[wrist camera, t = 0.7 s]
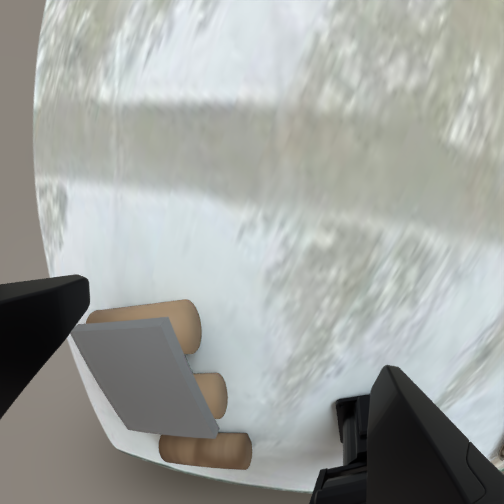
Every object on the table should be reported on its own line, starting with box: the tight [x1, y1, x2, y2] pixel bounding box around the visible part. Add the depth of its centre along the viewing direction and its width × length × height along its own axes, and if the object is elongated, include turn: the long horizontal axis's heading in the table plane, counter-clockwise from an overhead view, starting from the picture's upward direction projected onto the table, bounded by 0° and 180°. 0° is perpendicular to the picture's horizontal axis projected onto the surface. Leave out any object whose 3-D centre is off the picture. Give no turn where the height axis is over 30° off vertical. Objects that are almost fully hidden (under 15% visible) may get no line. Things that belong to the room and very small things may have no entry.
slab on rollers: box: [71, 299, 228, 439], centre depth 24 cm, size 11×9×5 cm
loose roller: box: [159, 433, 252, 470], centre depth 28 cm, size 4×9×4 cm, turn 105°
